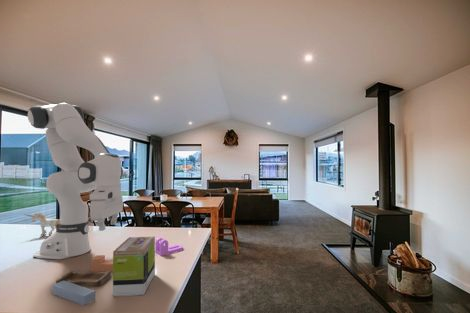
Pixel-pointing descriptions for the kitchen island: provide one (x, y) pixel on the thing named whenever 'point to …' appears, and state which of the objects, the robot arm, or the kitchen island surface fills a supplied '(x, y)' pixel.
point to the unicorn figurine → (45, 222)
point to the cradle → (98, 282)
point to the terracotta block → (101, 264)
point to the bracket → (165, 247)
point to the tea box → (133, 266)
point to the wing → (73, 292)
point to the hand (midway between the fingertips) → (108, 227)
